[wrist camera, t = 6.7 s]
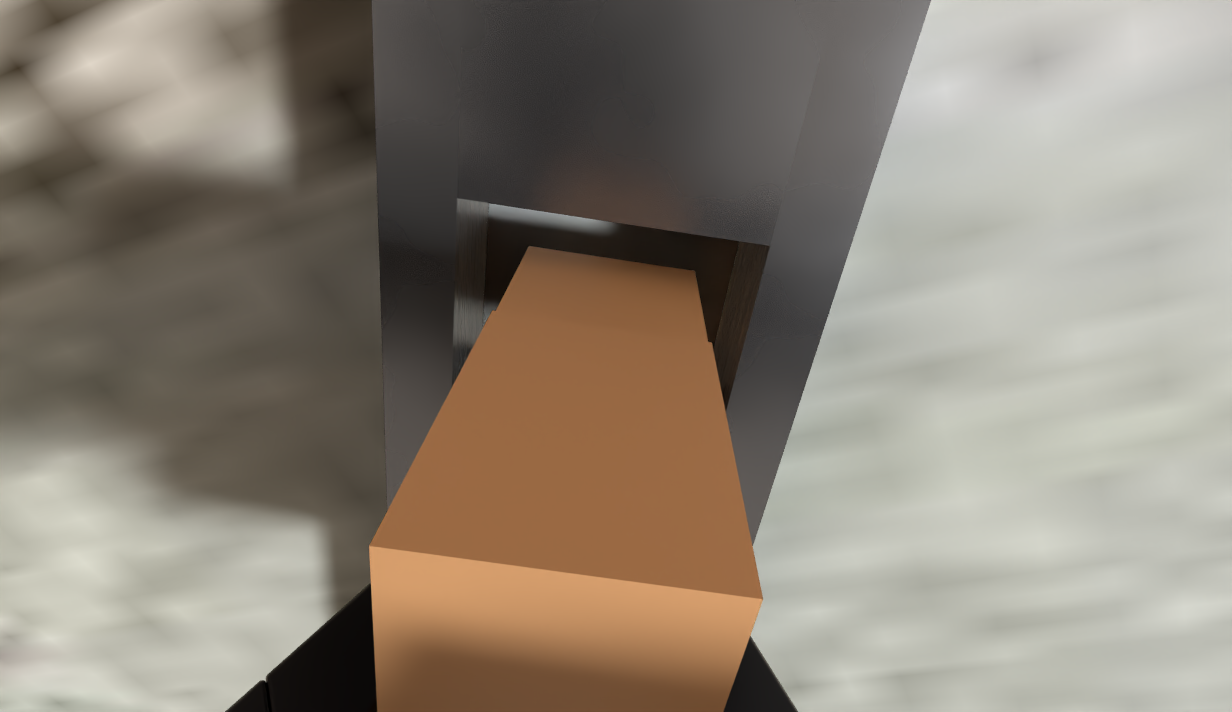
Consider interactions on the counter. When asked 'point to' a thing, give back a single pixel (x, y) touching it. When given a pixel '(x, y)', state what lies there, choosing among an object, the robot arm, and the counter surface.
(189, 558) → the counter surface
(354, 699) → the robot arm
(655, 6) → the rail
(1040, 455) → the counter surface
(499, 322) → the clip
